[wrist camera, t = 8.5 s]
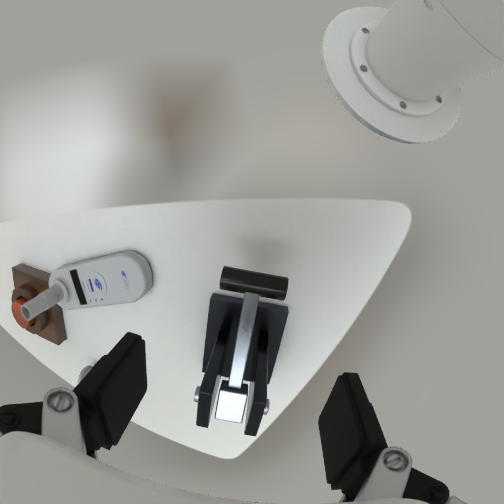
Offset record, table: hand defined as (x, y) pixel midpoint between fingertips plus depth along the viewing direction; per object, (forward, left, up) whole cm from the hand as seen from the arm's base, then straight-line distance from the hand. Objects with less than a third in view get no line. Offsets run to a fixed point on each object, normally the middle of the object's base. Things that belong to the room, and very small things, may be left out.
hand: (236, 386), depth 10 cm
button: (+12, -30, -14) cm, 35 cm away
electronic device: (+6, -18, -18) cm, 26 cm away
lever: (+5, 0, -11) cm, 12 cm away
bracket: (+9, 0, -18) cm, 20 cm away
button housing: (+12, -30, -18) cm, 37 cm away
